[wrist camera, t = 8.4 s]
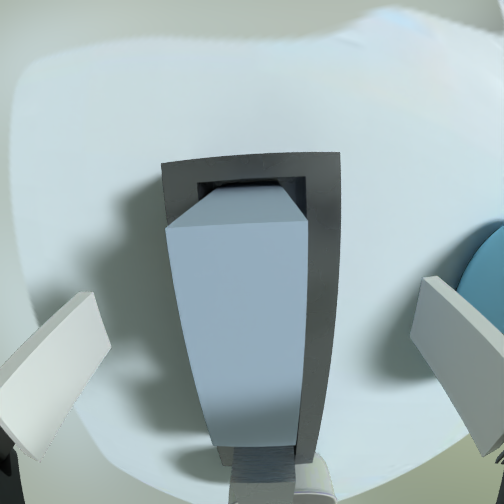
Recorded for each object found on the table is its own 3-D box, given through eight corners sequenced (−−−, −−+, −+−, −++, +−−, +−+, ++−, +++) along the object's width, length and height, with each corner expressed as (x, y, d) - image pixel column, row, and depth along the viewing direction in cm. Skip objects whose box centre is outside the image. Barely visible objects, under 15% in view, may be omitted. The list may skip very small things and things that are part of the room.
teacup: (213, 445, 25) (203, 506, 17) (306, 419, 23) (315, 490, 15) (272, 485, 29) (272, 532, 21) (347, 465, 27) (356, 514, 19)
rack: (183, 161, 16) (66, 177, 6) (317, 153, 16) (411, 152, 5) (223, 423, 23) (210, 523, 13) (306, 421, 23) (318, 521, 13)
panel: (222, 183, 15) (164, 228, 6) (277, 180, 15) (307, 220, 6) (233, 311, 18) (212, 445, 8) (280, 310, 18) (295, 444, 8)
